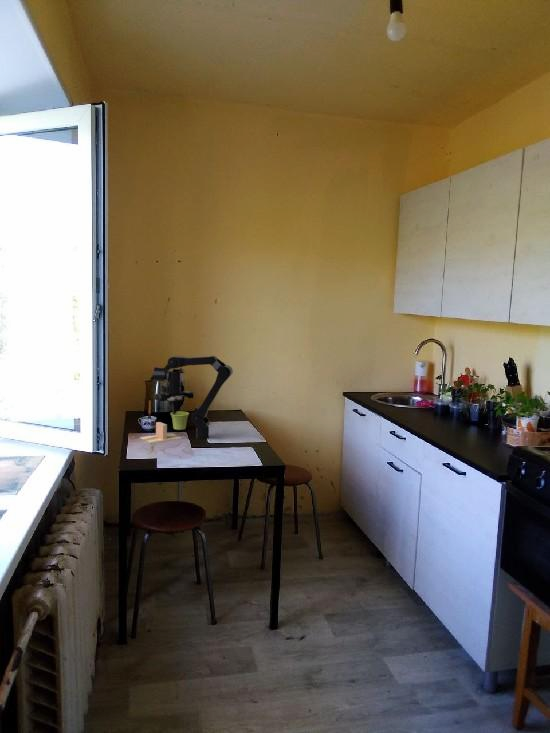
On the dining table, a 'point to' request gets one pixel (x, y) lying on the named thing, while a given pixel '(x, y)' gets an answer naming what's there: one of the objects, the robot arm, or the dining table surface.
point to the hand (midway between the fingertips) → (174, 413)
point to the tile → (161, 430)
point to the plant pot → (179, 420)
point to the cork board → (155, 439)
